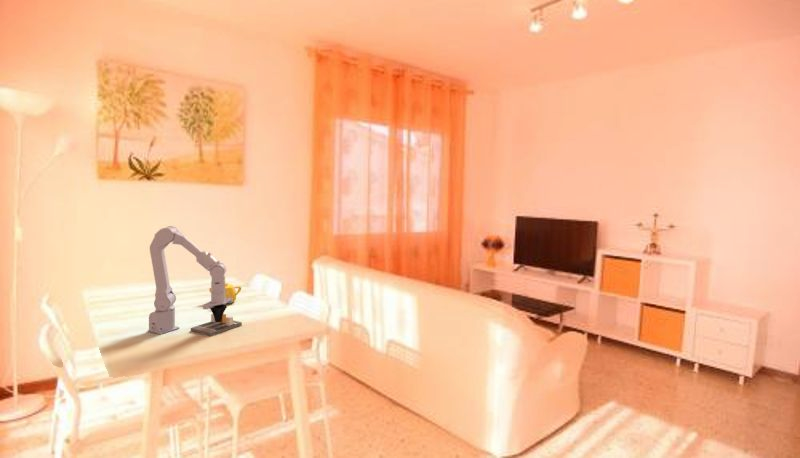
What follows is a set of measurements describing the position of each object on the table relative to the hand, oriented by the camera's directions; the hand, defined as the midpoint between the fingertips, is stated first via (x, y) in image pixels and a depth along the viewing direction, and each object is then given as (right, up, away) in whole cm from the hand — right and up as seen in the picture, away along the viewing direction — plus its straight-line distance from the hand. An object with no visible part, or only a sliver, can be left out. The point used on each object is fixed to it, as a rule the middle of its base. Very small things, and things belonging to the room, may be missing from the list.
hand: (218, 321), depth 193 cm
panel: (0, -3, 0) cm, 3 cm away
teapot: (-13, +1, +41) cm, 43 cm away
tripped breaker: (+1, -1, +2) cm, 3 cm away
